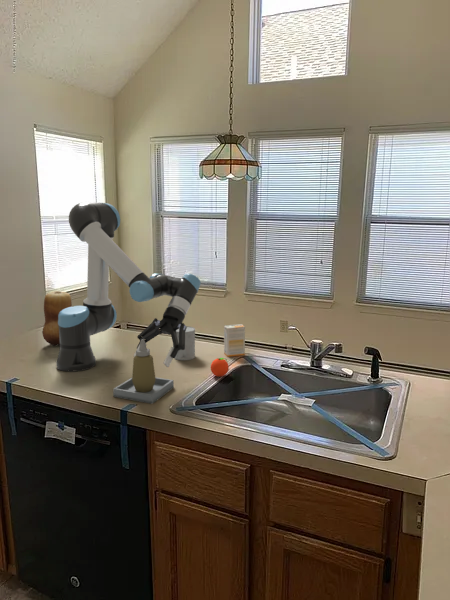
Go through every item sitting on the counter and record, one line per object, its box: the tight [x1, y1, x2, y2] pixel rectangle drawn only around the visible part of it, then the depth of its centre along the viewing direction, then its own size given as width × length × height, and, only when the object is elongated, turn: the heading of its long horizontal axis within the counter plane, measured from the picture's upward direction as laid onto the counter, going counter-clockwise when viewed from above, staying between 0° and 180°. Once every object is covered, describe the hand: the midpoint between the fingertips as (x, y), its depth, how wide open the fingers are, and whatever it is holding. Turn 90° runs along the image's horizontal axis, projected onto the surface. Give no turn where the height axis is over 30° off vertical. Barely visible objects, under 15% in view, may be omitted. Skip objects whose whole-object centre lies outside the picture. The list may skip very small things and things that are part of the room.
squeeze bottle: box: [131, 339, 156, 392], centre depth 158 cm, size 8×8×18 cm
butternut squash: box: [41, 290, 73, 347], centre depth 211 cm, size 14×13×25 cm
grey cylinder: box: [172, 325, 196, 361], centre depth 197 cm, size 10×10×12 cm
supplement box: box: [223, 323, 246, 358], centre depth 200 cm, size 8×5×13 cm, turn 108°
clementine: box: [210, 357, 230, 377], centre depth 176 cm, size 8×7×7 cm
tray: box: [112, 376, 175, 405], centre depth 160 cm, size 15×15×3 cm
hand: (150, 361), depth 160 cm, fingers open, 13 cm apart
